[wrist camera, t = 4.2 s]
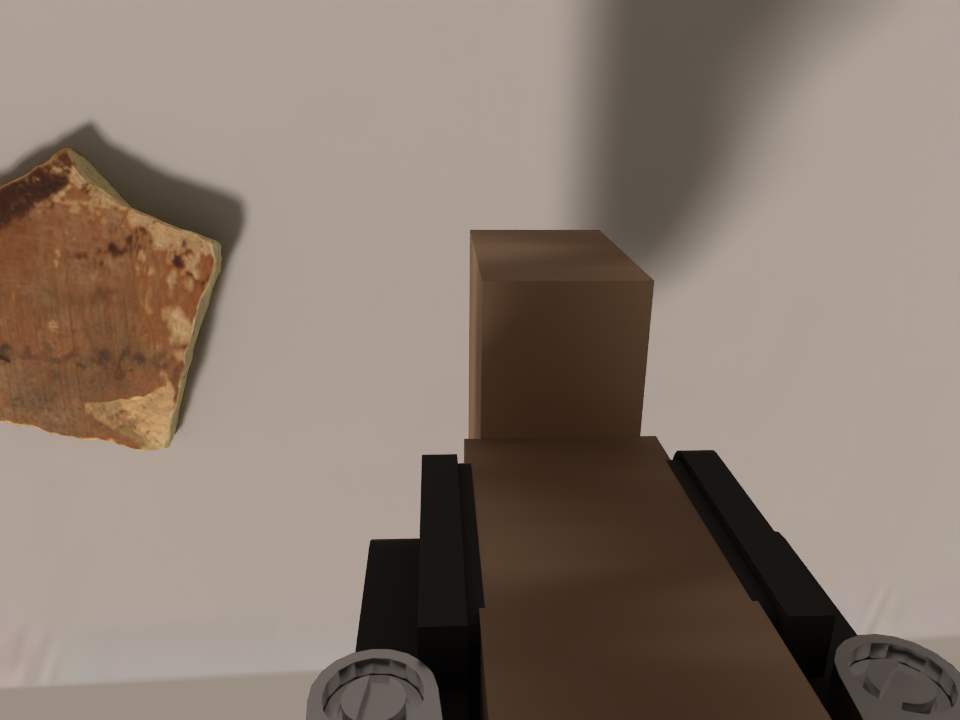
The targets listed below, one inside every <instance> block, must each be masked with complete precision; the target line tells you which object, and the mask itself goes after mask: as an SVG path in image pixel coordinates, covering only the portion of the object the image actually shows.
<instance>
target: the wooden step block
mask: <svg viewBox="0 0 960 720" xmlns="http://www.w3.org/2000/svg"><path fill="white" fill-rule="evenodd" d="M653 286H654V280H653V279H652V278H651V277H649V276H648V275H647V274H646V273H645V272H644V271H643V270H642V269H641V268H640V267H639V266H638V265H636V264H635V263H634V262H633V261H632V260H631V259H630V258H629V257H628V256H627V255H626V254H624V253H623V252H622V251H621V250H620V249H619V248H618V247H617V246H616V245H615V244H614V243H613V242H611V241H610V240H609V239H608V238H607V237H606V236H605V235H604V234H603V233H602V232H601V231H599V230H470V323H469V439H464V463H471V469H472V479H473V489H474V500H475V510H476V520H477V530H478V541H479V551H480V561H481V571H482V582H483V592H484V602H485V608H479V616H480V703H479V720H832V719H831V718H830V716H829V714H828V713H827V711H826V710H825V708H824V706H823V705H822V703H821V702H820V700H819V698H818V697H817V695H816V694H815V692H814V690H813V689H812V687H811V685H810V684H809V682H808V681H807V679H806V677H805V676H804V674H803V673H802V671H801V669H800V668H799V666H798V665H797V663H796V661H795V660H794V658H793V656H792V655H791V653H790V652H789V650H788V648H787V647H786V645H785V644H784V642H783V640H782V639H781V637H780V636H779V634H778V632H777V631H776V629H775V627H774V626H773V624H772V623H771V621H770V619H769V618H768V616H767V615H766V613H765V611H764V610H763V608H762V607H761V605H760V603H759V602H758V601H752V600H751V599H750V597H749V596H748V594H747V592H746V591H745V589H744V587H743V586H742V584H741V582H740V581H739V579H738V577H737V576H736V574H735V572H734V571H733V569H732V568H731V566H730V564H729V563H728V561H727V559H726V558H725V556H724V554H723V553H722V551H721V549H720V548H719V546H718V545H717V543H716V541H715V540H714V538H713V536H712V535H711V533H710V531H709V530H708V528H707V526H706V525H705V523H704V522H703V520H702V518H701V517H700V515H699V513H698V512H697V510H696V508H695V507H694V505H693V503H692V502H691V500H690V498H689V497H688V495H687V494H686V492H685V490H684V489H683V487H682V485H681V484H680V482H679V480H678V479H677V477H676V475H675V474H674V472H673V471H672V469H671V467H670V466H669V464H668V462H667V461H666V460H670V458H669V457H668V455H667V453H666V452H665V450H664V449H663V447H662V445H661V444H660V442H659V441H658V439H657V437H656V436H640V431H641V420H642V409H643V398H644V386H645V375H646V364H647V353H648V342H649V331H650V319H651V308H652V297H653Z"/></svg>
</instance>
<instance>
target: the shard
mask: <svg viewBox="0 0 960 720" xmlns="http://www.w3.org/2000/svg"><path fill="white" fill-rule="evenodd" d="M221 247H222V246H221V244H220V243H219V242H217V241H216V240H213V239H210V238H207V237H204V236H202V235H200V234H198V233H195V232H193V231H189V230H185V229H181V228H178V227H176V226H173V225H171V224H168V223H165V222H163V221H161V220H159V219H157V218H155V217H153V216H151V215H148V214H145V213H143V212H140V211H138V210H136V209H134V208H131V207H130V205H129V204H128V203H127V202H126V201H125V200H124V199H123V198H122V197H121V196H120V195H119V194H118V192H117V191H116V190H115V189H114V188H113V187H112V186H111V185H110V184H109V183H108V182H107V180H106V179H105V178H104V177H103V176H102V175H100V174H99V173H98V172H97V170H96V169H95V168H94V166H93V165H92V164H91V163H89V162H88V161H87V160H86V159H85V158H84V157H83V156H82V155H80V154H78V153H76V152H75V151H73V150H72V149H70V148H64V149H62V150H60V151H59V152H57V153H55V154H54V155H53V156H52V157H51V158H50V159H49V160H48V161H47V162H45V163H44V164H41V165H38V166H35V167H34V168H33V169H32V170H31V171H30V172H29V173H27V174H26V175H24V176H22V177H19V178H17V179H15V180H13V181H11V182H9V183H7V184H5V185H3V186H1V187H0V421H4V422H8V423H12V424H16V425H27V426H32V427H35V428H38V429H41V430H43V431H46V432H48V433H53V434H59V435H65V436H69V437H74V438H79V439H84V440H88V441H93V440H98V439H101V440H105V441H110V442H114V443H116V444H119V445H124V446H127V447H130V448H132V449H138V450H143V451H150V450H156V449H162V448H168V447H169V446H170V443H171V441H172V439H173V437H174V434H175V431H176V427H177V423H178V419H179V409H180V406H181V402H182V398H183V393H184V389H185V385H186V380H187V374H188V370H189V367H190V365H191V362H192V358H193V351H194V345H195V342H196V340H197V337H198V333H199V330H200V327H201V324H202V322H203V319H204V317H205V313H206V311H207V308H208V306H209V304H210V297H211V294H212V291H213V286H214V285H215V282H216V280H217V278H218V276H219V274H220V273H221V261H222V256H221Z"/></svg>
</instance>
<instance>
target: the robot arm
mask: <svg viewBox="0 0 960 720" xmlns="http://www.w3.org/2000/svg"><path fill="white" fill-rule="evenodd" d="M666 461H667V462H668V464H669V466H670V467H671V469H672V471H673V472H674V474H675V475H676V477H677V479H678V480H679V482H680V484H681V485H682V487H683V489H684V490H685V492H686V494H687V495H688V497H689V498H690V500H691V502H692V503H693V505H694V507H695V508H696V510H697V512H698V513H699V515H700V517H701V518H702V520H703V522H704V523H705V525H706V526H707V528H708V530H709V531H710V533H711V535H712V536H713V538H714V540H715V541H716V543H717V545H718V546H719V548H720V549H721V551H722V553H723V554H724V556H725V558H726V559H727V561H728V563H729V564H730V566H731V568H732V569H733V571H734V572H735V574H736V576H737V577H738V579H739V581H740V582H741V584H742V586H743V587H744V589H745V591H746V592H747V594H748V596H749V597H750V599H751V600H752V601H758V602H759V603H760V605H761V607H762V608H763V610H764V611H765V613H766V615H767V616H768V618H769V619H770V621H771V623H772V624H773V626H774V627H775V629H776V631H777V632H778V634H779V636H780V637H781V639H782V640H783V642H784V644H785V645H786V647H787V648H788V650H789V652H790V653H791V655H792V656H793V658H794V660H795V661H796V663H797V665H798V666H799V668H800V669H801V671H802V673H803V674H804V676H805V677H806V679H807V681H808V682H809V684H810V685H811V687H812V689H813V690H814V692H815V694H816V695H817V697H818V698H819V700H820V702H821V703H822V705H823V706H824V708H825V710H826V711H827V713H828V714H829V716H830V718H831V719H832V720H960V672H959V671H958V670H957V669H955V667H954V666H953V665H952V664H950V663H949V662H947V661H946V660H945V659H943V658H942V657H940V656H939V655H938V654H936V653H935V652H933V651H931V650H928V649H926V648H924V647H922V646H920V645H918V644H916V643H913V642H910V641H907V640H904V639H900V638H897V637H893V636H886V635H878V634H869V635H857V634H856V633H855V631H854V630H853V629H852V627H851V626H850V625H849V623H848V622H847V621H846V619H845V618H844V617H843V615H842V614H841V613H840V611H839V610H838V609H837V607H836V606H835V605H834V603H833V602H832V601H831V599H830V598H829V597H828V595H827V594H826V593H825V591H824V590H823V589H822V587H821V586H820V585H819V583H818V582H817V581H816V579H815V578H814V577H813V575H812V574H811V573H810V571H809V570H808V569H807V567H806V566H805V565H804V563H803V562H802V561H801V559H800V558H799V557H798V555H797V554H796V553H795V551H794V550H793V549H792V547H791V546H790V545H789V543H788V542H787V541H786V539H785V538H784V537H783V536H782V535H781V534H780V533H779V532H776V531H774V530H773V529H772V528H771V526H770V525H769V523H768V522H767V521H766V519H765V518H764V517H763V515H762V514H761V513H760V511H759V510H758V509H757V507H756V506H755V504H754V503H753V502H752V500H751V499H750V498H749V496H748V495H747V494H746V492H745V491H744V490H743V488H742V487H741V486H740V484H739V483H738V481H737V480H736V479H735V477H734V476H733V475H732V473H731V472H730V471H729V469H728V468H727V467H726V465H725V464H724V462H723V461H722V460H721V458H720V457H719V456H718V454H717V453H716V452H715V451H714V450H699V451H677V452H676V453H675V455H674V458H673V460H666ZM479 608H485V602H484V592H483V582H482V571H481V561H480V551H479V541H478V530H477V520H476V510H475V500H474V489H473V479H472V469H471V463H461V464H458V462H457V454H449V455H422V478H421V515H420V539H377V540H371V541H370V546H369V554H368V561H367V569H366V576H365V584H364V591H363V599H362V606H361V614H360V621H359V629H358V637H357V644H356V652H355V653H352V654H350V655H348V656H345V657H343V658H341V659H339V660H336V661H335V662H334V663H332V664H331V665H330V666H328V667H327V668H326V669H325V670H323V671H322V672H321V673H320V675H319V676H318V677H317V679H316V680H315V682H314V683H313V684H312V686H311V689H310V693H309V697H308V701H307V713H306V714H307V715H306V720H479V703H480V616H479Z"/></svg>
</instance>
